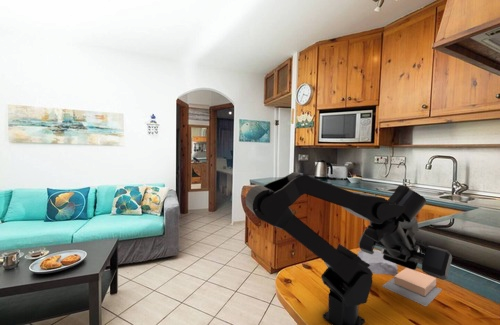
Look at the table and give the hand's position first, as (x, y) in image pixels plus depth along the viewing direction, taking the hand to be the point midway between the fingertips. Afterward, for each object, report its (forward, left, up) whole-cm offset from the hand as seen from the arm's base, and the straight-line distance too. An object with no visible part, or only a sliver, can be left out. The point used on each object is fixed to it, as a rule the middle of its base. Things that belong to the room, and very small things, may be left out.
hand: (409, 266), depth 59 cm
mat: (+1, 0, -6) cm, 6 cm away
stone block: (+6, +12, -7) cm, 15 cm away
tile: (-1, 0, -5) cm, 5 cm away
